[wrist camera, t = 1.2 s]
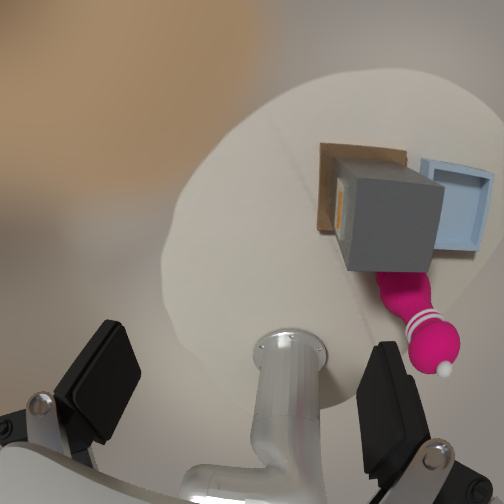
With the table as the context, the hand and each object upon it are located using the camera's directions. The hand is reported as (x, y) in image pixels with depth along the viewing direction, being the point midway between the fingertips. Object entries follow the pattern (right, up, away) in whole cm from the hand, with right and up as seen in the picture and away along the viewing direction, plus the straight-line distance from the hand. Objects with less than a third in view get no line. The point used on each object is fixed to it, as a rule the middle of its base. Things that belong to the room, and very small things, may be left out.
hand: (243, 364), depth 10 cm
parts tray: (+28, +11, +23) cm, 38 cm away
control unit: (+14, +12, +24) cm, 30 cm away
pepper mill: (+21, +1, +29) cm, 36 cm away
